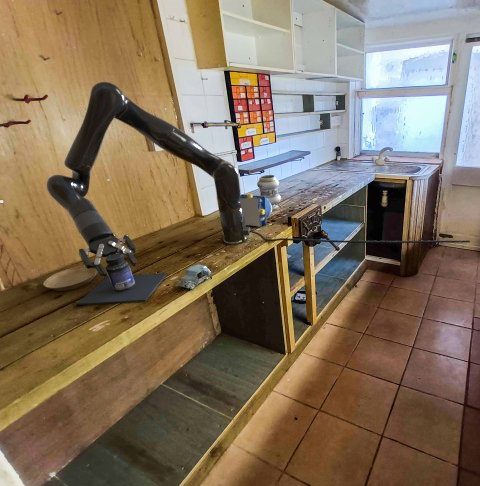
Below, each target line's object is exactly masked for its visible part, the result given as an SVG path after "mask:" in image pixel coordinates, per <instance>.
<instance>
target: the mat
mask: <svg viewBox="0 0 480 486" xmlns="http://www.w3.org/2000/svg"><path fill="white" fill-rule="evenodd" d="M132 275H133V278H134V281H135V285H134V286H133V287H132V288H131V289H129V290H126V291H120V292H119V291H115V290H114V289H113V287H112V284H111V281H110V279H109V276H106V277H104V279H103V280H102V281H101V282H100V283H98V284H97V285H96V286H95V287H94V288H93V289H92V290H91V291H89V292H88V293H87V294H86V295H85V296H83V297H82V298H81V299H80V300H79V301H77V303H76V305H77V306H89V305H105V304H107V305H108V304H123V303H140V302H141V303H142V302H146V301H148V299H149V298H150V297H151V296H152V295H153V293H154V292H155V290H156V289H157V288H158V287H159V286H160V284H161V283H162V282H163V281H164V280H165V278H166V277H167V276H168V274H167V273H154V274H153V273H149V274H132Z"/></svg>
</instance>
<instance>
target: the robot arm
mask: <svg viewBox="0 0 480 486" xmlns="http://www.w3.org/2000/svg"><path fill="white" fill-rule="evenodd" d="M114 119H116V120H118V121H120V122H122V123H123V124H126V126H129V127H131V128H133V129H134V130H136V132H138V133H140V134H141V135H143V137H144V138H146V139H147V140H148V141H150V142H151V143H153V144H154V145H155V146H157V147H159V148H160V149H162V150H163V151H165V152H167V153H169V154H170V155H172V156H173V157H176V158H177V159H180V160H181V161H183V162H187V163H189V164H191V165H194V166H196V167H198V168H199V169H201V170H202V171H204V172H205V173H206V174H207V175H209V176H210V178H212V179H213V181H214V186H215V192H216V202H217V208H218V213H219V219H220V225H221V234H222V236H223V243H224V244H227V245H237V244H241V243H245V242H246V240H247V239H248V236H250V234H254V235H257V236H259V237H260V238H261V239H262V240H264V241H265V242H278V241H292V242H312V243H313V242H314V243H315V242H317V243H341V244H342V243H345V244H346V243H347V244H349V243H350V244H438V243H439V244H442V243H443V244H445V243H446V244H448V243H451V244H452V243H454V244H456V243H465V244H466V243H469V244H470V243H471V240H470V239H469V240H468V239H467V240H465V239H464V240H463V239H461V240H460V239H459V240H457V239H455V240H446V239H445V240H442V239H441V240H343V239H342V240H341V239H340V240H339V239H313V238H289V237H287V238H285V237H281V238H266V237H264V235H262V233H259V232H257V231H254V230H252V229H251V226H247V225H245V218H244V217H243V213H242V206H241V198H240V195H242V194H241V186H240V177H239V173H238V170H237V168H236V167H235V166H234V164H232V163H231V162H229V161H227V160H226V159H223V158H221V157H219V156H217V155H216V154H214V153H212V152H210V151H209V150H207V149H206V148H205V147H203V146H202V145H201V144H199V143H198V142H197V140H195V139H194V138H193V137H191V136H190V135H188V134H187V133H186V132H184V131H183V130H181V129H180V128H178V127H176V126H175V125H173V124H172V123H170V122H168V121H166V120H164V119H163V118H160V117H158V116H157V115H155V114H152V113H150V112H149V111H147V110H145V109H144V108H142V107H140V106H139V105H138V104H136V103H135V102H133V101H132V100H131V99H130V98H129V97H127V95H125V94H124V92H123V91H122V90H121V88H119V86H117V85H116V84H115V83H112V82H108V81H99V82H97V83H95V84H93V86H92V87H91V89H90V94H89V99H88V103H87V109H86V112H85V114H84V118H83V121H82V123H81V125H80V127H79V130H78V131H77V134H76V136H75V138H74V140H73V141H72V144H71V145H70V148H69V150H68V152H67V154H66V156H65V158H64V162H63V164H64V167H66V168H67V169H69V170H70V171H71V176H68V175H64V174H53V175H51V176H49V177H48V179H47V180H46V190H47V192H48V194H49V195H50V196H51V198H52V199H53V200H55V202H57V203H58V205H60V206H61V208H63V210H66V211H67V213H68V215H69V216H70V219H72V221H73V223H74V225H75V227H76V229H77V231H78V233H79V234H80V235H81V237H82V239H83V240H84V242H85V244H86V245H87V246H88V247H87V248H78V255H79V257H80V260H81V261H82V263H83V264H84V266H86V268H87V269H90V268H95V269H96V270H97V273H98V274H99V276H100V277H103V278H107V277H108V273H107V271H106V268H104V267H103V265H102V263H101V261H102V258H106V257H108V256H110V255H113V254H123V256H124V257H125V256H126V258H127V260H128V262H129V263H130V264H131V266H132V267H135V266H136V265H137V258H136V257H135V255H134V254H135V253H136V250H137V246H136V245H135V243H134V242H133V241H132V240H131V238H130V237H129V235H127V234H124V235H123V236H122V237H119V238H118V237H116V236H115V234H114V231H112V229H111V228H110V226H109V224H108V223H107V222H106V220H105V219H104V217H103V216H102V215H101V214H100V213H99V211H98V209H97V208H96V206H95V205H94V203H93V202H92V201H91V200H90V199H88V198H86V196H87V195H88V193H89V189H90V181H91V174H92V173H91V172H92V169H93V168H94V166H95V163H96V161H97V158H98V156H99V154H100V151H101V147H102V145H103V143H104V139H105V136H106V133H107V131H108V129H109V127H110V125H111V123H112V122H113V121H114ZM120 243H122V244H123V245H121V244H120ZM124 245H125V246H127V248H126V247H125V246H124ZM89 253H90V254H93V255H96V256H95V259H94V261H91V260H90V258H89V255H90V254H89Z"/></svg>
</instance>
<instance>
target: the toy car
mask: <svg viewBox="0 0 480 486" xmlns="http://www.w3.org/2000/svg"><path fill="white" fill-rule="evenodd" d="M211 274H212V271H211V270H210V269H209V268H208V267H207V266H206V265H203V264H199V263H198V264H195V265H192V266H190V267H188V268H187V269H186V270H185V275H184V276H183V277H182V279H180V280H178V283H177V286H179V287H182V288H186V289H190V290H193V289H195V287H196V286H198V285H200V284H201V283H202V282H204V281H205V280H209V279H210V275H211Z"/></svg>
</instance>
